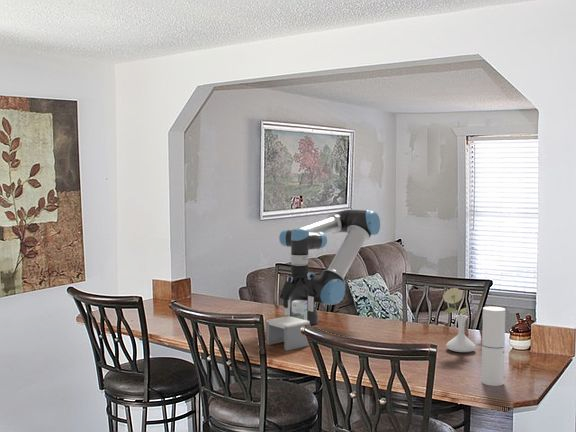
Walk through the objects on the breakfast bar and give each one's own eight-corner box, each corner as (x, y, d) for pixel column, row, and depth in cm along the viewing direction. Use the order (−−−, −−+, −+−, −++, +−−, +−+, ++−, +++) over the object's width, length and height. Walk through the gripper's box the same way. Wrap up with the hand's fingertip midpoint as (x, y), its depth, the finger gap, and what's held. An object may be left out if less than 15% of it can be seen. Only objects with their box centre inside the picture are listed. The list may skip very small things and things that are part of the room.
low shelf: (266, 344, 271) (266, 319, 271) (288, 339, 279) (288, 315, 278) (287, 350, 262) (287, 325, 261) (309, 345, 269) (309, 321, 269)
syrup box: (307, 332, 291) (307, 299, 290) (303, 335, 285) (303, 302, 284) (295, 331, 293) (295, 299, 292) (291, 334, 287) (291, 301, 286)
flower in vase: (476, 348, 266) (477, 286, 264) (475, 355, 255) (477, 291, 253) (442, 345, 269) (443, 284, 268) (440, 353, 259) (442, 289, 257)
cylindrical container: (476, 381, 224) (478, 307, 222) (491, 377, 227) (493, 305, 226) (493, 387, 217) (495, 311, 216) (508, 383, 221) (510, 309, 220)
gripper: (283, 267, 276) (282, 318, 277) (326, 263, 292) (325, 310, 293) (271, 265, 282) (271, 315, 283) (314, 261, 298) (314, 308, 299)
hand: (299, 313), depth 288 cm, fingers open, 13 cm apart
